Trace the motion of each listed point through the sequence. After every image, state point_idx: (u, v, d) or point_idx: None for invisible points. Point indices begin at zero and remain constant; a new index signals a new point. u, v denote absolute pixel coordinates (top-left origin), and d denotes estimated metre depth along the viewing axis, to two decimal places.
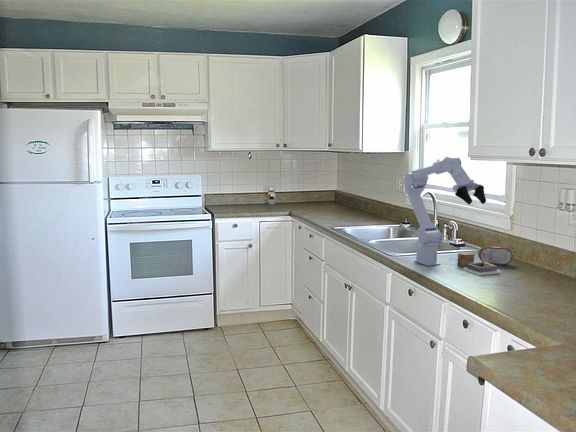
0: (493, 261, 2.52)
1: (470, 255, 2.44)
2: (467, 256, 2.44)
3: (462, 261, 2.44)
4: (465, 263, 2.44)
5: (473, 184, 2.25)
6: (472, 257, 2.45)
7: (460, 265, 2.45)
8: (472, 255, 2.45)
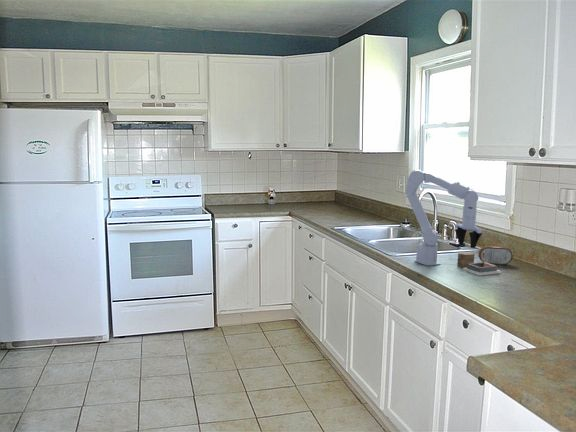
0: (493, 261, 2.52)
1: (470, 255, 2.44)
2: (467, 256, 2.44)
3: (462, 261, 2.44)
4: (465, 263, 2.44)
5: None
6: (472, 257, 2.45)
7: (460, 265, 2.45)
8: (472, 255, 2.45)
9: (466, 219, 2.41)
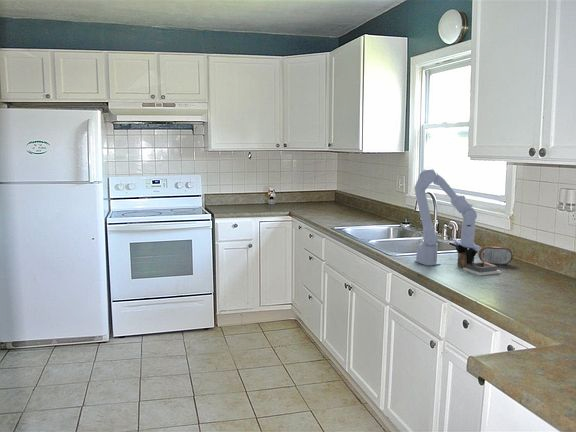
0: (493, 261, 2.52)
1: None
2: None
3: (462, 261, 2.44)
4: (465, 263, 2.44)
5: None
6: None
7: (460, 265, 2.45)
8: None
9: (465, 237, 2.43)
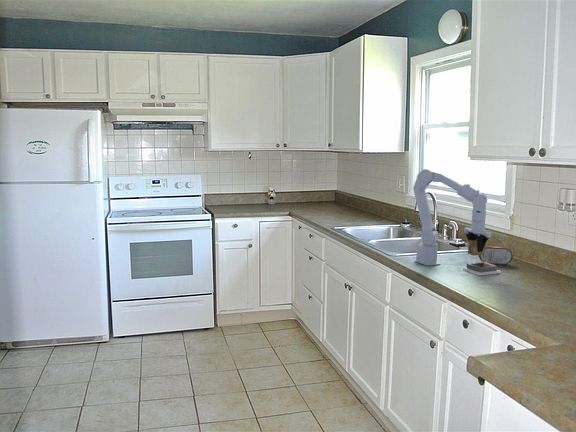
0: (493, 261, 2.52)
1: None
2: None
3: (473, 248, 2.38)
4: (476, 250, 2.38)
5: None
6: None
7: (471, 253, 2.39)
8: None
9: (475, 223, 2.36)
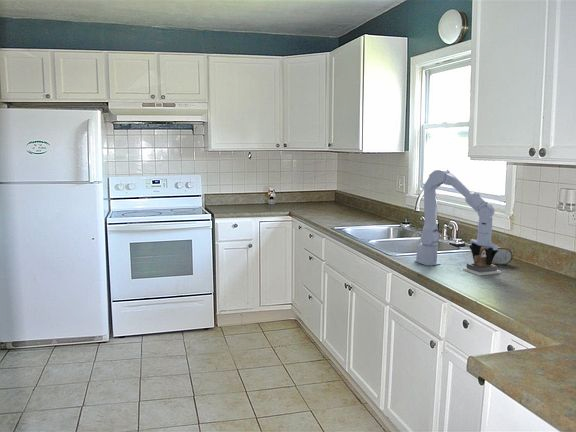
0: (493, 261, 2.52)
1: None
2: (484, 258, 2.35)
3: (479, 264, 2.35)
4: (482, 266, 2.35)
5: None
6: None
7: None
8: None
9: (481, 235, 2.33)
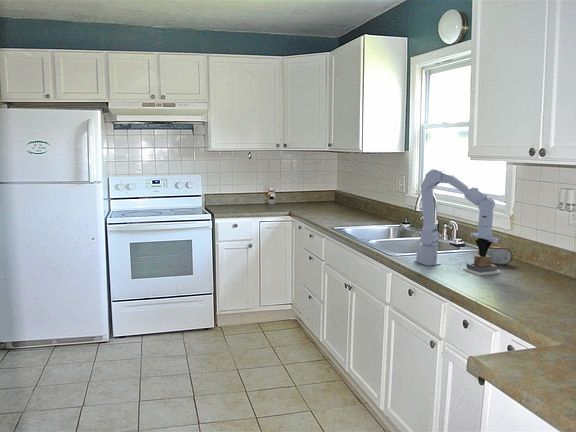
0: (493, 261, 2.52)
1: (487, 257, 2.35)
2: (484, 258, 2.35)
3: (479, 264, 2.35)
4: (482, 266, 2.35)
5: None
6: (489, 260, 2.36)
7: None
8: (489, 257, 2.36)
9: (482, 228, 2.33)
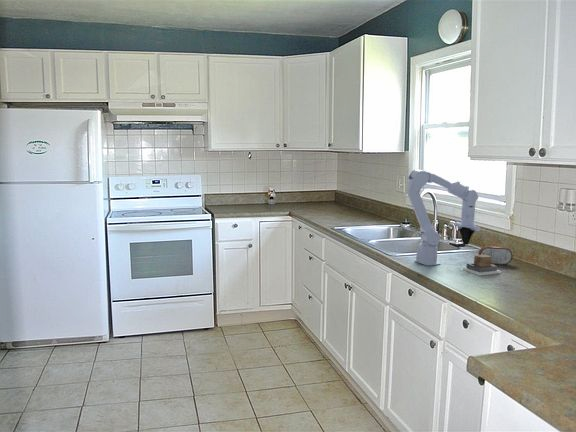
0: (493, 261, 2.52)
1: (487, 257, 2.35)
2: (484, 258, 2.35)
3: (479, 264, 2.35)
4: (482, 266, 2.35)
5: None
6: (489, 260, 2.36)
7: None
8: (489, 257, 2.36)
9: (465, 217, 2.46)
